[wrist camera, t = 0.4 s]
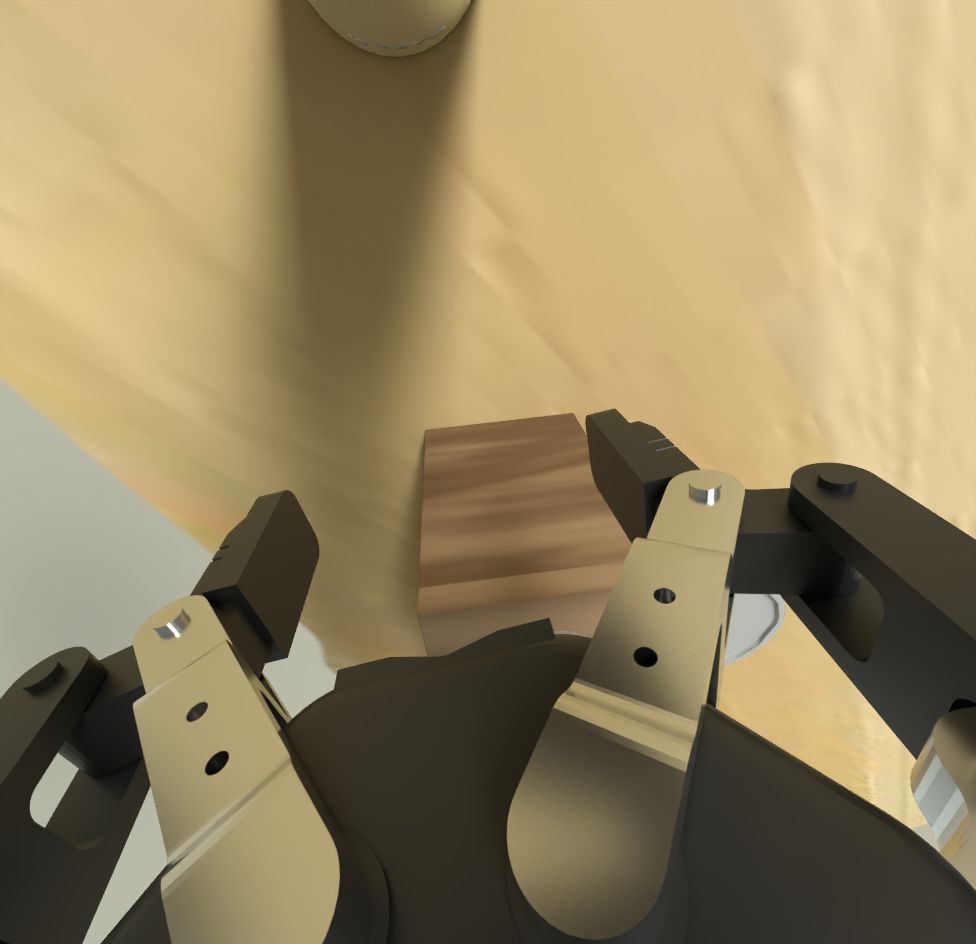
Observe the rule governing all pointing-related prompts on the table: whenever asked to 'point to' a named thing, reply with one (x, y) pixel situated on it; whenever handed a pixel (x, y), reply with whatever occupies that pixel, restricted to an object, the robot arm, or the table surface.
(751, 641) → the disposable coffee cup
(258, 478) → the table surface
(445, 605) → the wooden bench stand
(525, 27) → the table surface
